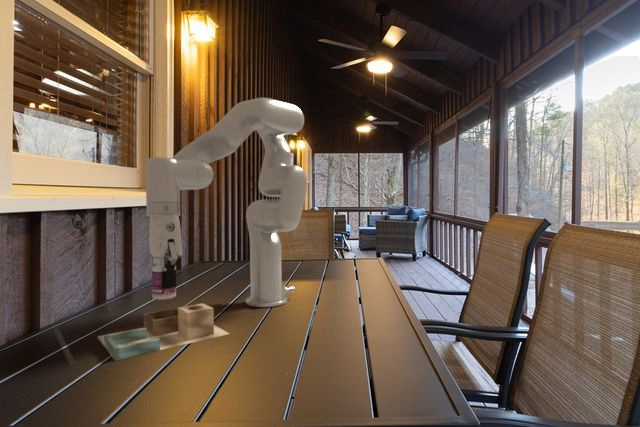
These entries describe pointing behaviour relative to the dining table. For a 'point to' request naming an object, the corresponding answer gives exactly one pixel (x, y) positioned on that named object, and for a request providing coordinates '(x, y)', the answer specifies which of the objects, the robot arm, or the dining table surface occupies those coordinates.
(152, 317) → the walnut ring block
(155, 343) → the board
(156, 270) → the pill bottle
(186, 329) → the oak block
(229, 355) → the dining table surface
